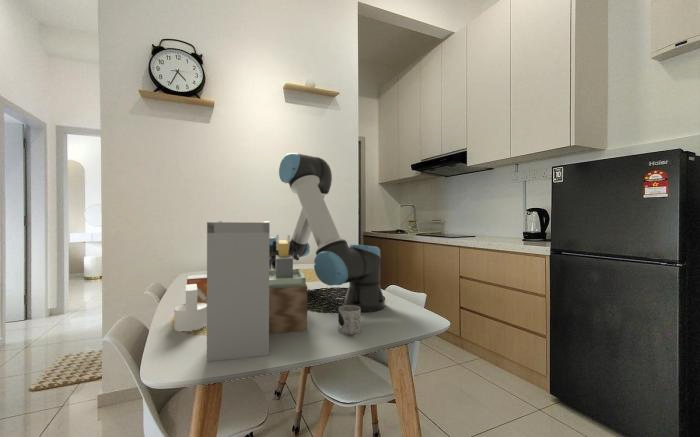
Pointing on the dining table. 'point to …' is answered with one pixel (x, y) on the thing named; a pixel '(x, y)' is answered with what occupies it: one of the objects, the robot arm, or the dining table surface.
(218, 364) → the dining table surface
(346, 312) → the mug
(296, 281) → the tray
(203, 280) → the small box
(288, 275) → the yellow grey boxy piece
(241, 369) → the dining table surface
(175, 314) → the base with upright slab
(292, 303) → the riser
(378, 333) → the dining table surface
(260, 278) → the grey tall block
